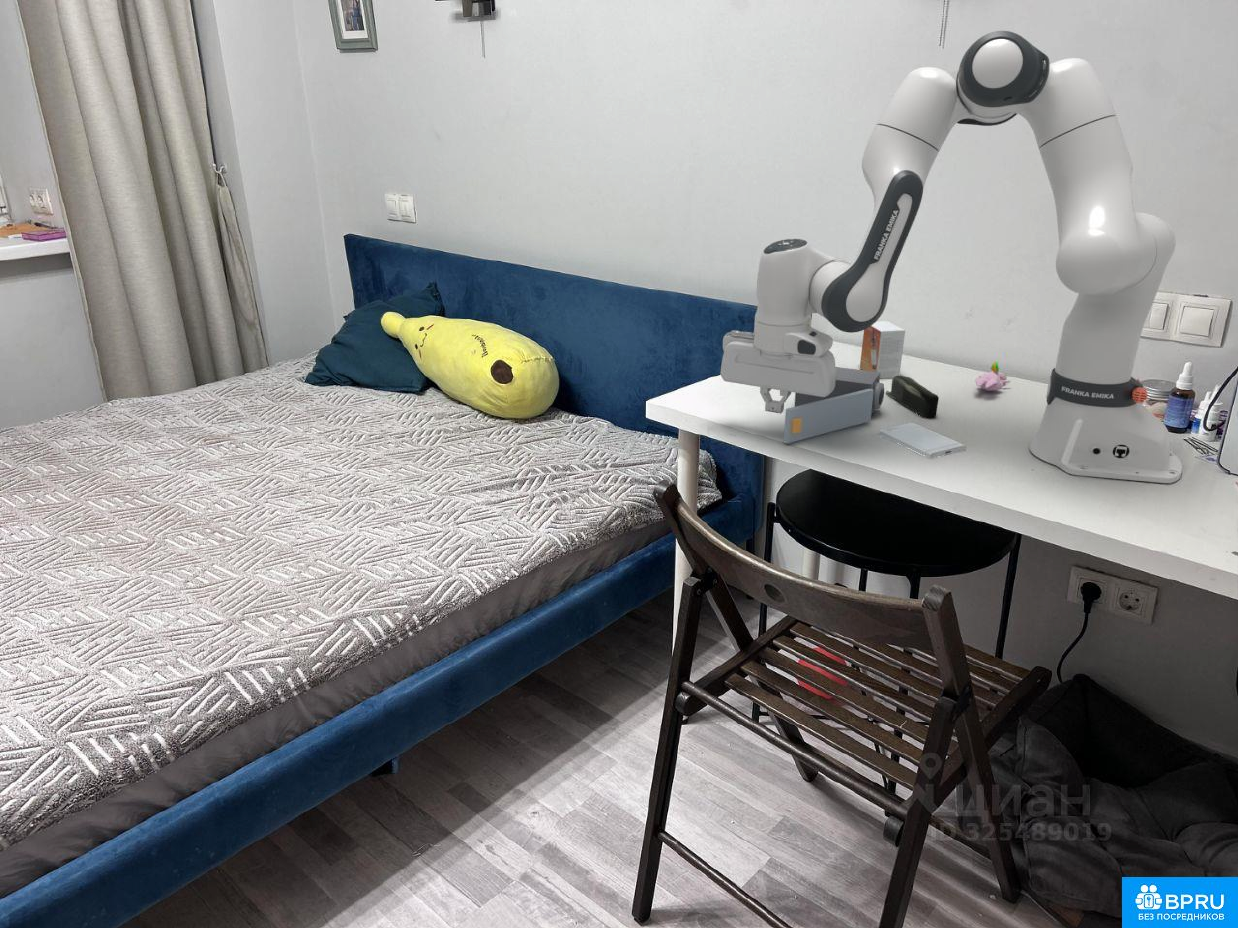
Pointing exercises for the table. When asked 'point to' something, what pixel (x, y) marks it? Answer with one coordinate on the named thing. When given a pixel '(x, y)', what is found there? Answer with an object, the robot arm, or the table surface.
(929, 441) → the hard drive
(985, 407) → the table surface
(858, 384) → the box
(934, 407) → the dark green rounded block
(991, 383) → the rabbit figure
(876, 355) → the small box
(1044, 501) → the table surface
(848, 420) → the side door
